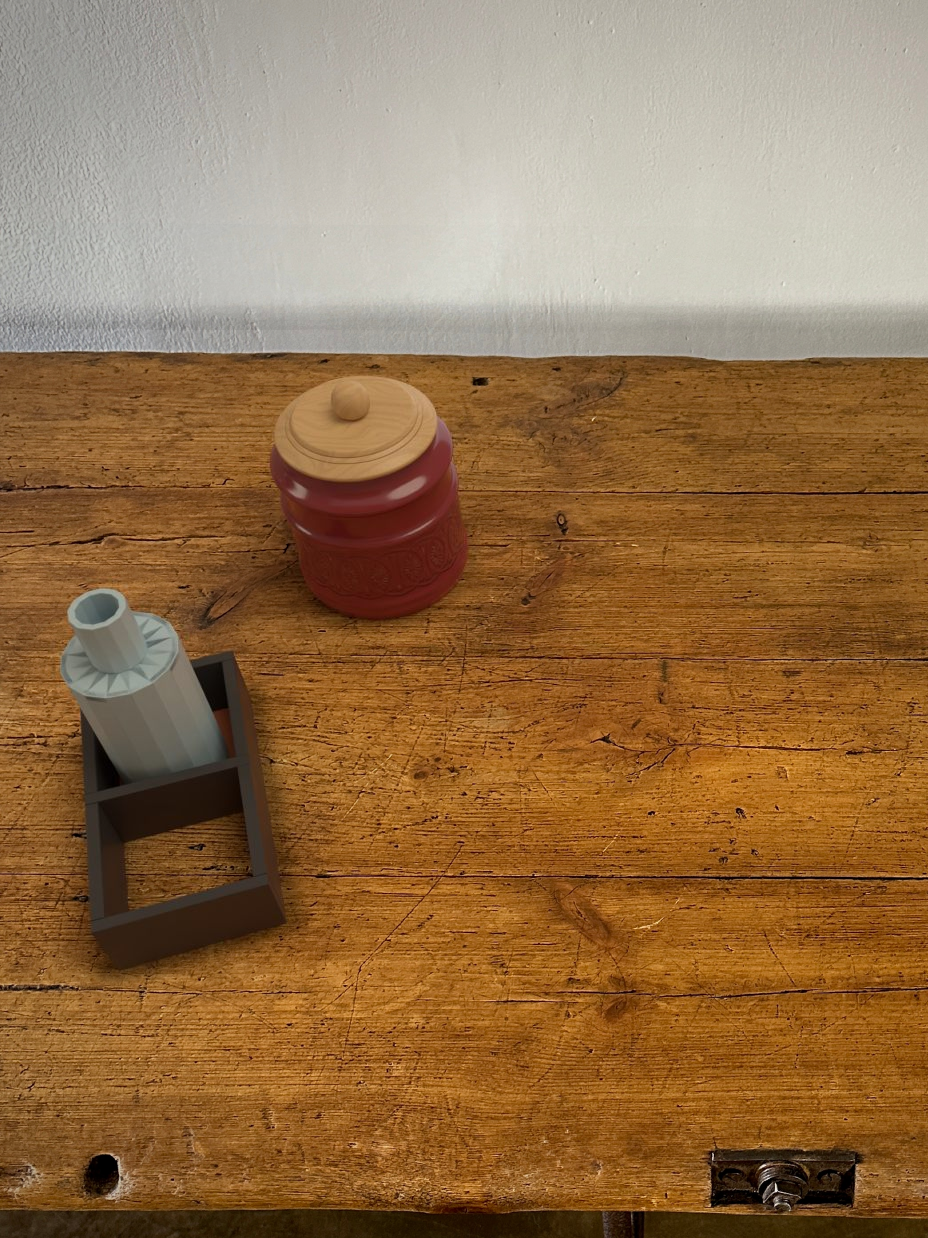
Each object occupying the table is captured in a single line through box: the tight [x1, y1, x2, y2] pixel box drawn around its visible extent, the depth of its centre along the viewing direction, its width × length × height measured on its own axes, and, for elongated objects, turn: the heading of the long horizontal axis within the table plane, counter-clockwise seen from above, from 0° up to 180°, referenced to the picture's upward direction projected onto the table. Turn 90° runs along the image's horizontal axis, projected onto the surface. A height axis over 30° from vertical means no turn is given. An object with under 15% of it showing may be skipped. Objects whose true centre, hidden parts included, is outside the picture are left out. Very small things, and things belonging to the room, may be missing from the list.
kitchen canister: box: [269, 375, 470, 621], centre depth 89 cm, size 13×13×18 cm
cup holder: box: [79, 650, 288, 972], centre depth 78 cm, size 19×10×6 cm, turn 19°
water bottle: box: [59, 587, 229, 785], centre depth 76 cm, size 7×7×16 cm
